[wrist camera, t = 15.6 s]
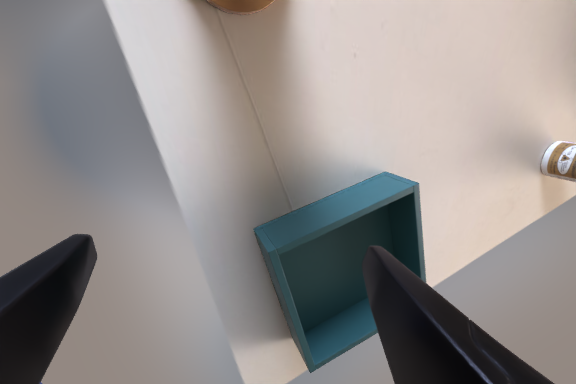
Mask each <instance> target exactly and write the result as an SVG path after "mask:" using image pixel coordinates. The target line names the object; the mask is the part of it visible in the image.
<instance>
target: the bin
mask: <svg viewBox="0 0 576 384" xmlns="http://www.w3.org/2000/svg"><path fill="white" fill-rule="evenodd" d="M253 230H254V232H255V235H256V238H257V241H258V244H259V246H260V249H261V252H262V255H263V257H264V260H265V263H266V266H267V268H268V271H269V274H270V277H271V280H272V282H273V285H274V288H275V291H276V293H277V296H278V299H279V302H280V304H281V307H282V310H283V313H284V316H285V318H286V321H287V324H288V327H289V329H290V332H291V335H292V338H293V340H294V342H295V344H296V346H297V348H298V350H299V352H300V354H301V356H302V358H303V360H304V362H305V364H306V366H307V368H308V370H309V372H310V373H311V372H313V371H315V370H316V369H318V368H320V367H321V366H323V365H324V364H326V363H328V362H330V361H331V360H333V359H335V358H336V357H338V356H340V355H341V354H343V353H345V352H346V351H348V350H350V349H351V348H353V347H355V346H356V345H358V344H360V343H361V342H363V341H365V340H366V339H368V338H369V337H371V336H373V335H375V334H376V333H378V330H377V327H376V324H375V321H374V318H373V315H372V311H371V308H370V304H369V300H368V295H367V290H366V285H365V280H364V276H363V271H362V261H363V258H364V256H365V253H366V251H367V249H368V247H369V246H381V247H383V248H384V249H385V250H386V251H388V252H389V253H390V254H391V255H392V256H394V257H395V258H396V259H397V260H398V261H400V262H401V263H402V264H403V265H405V266H406V267H407V268H408V269H409V270H411V271H412V272H413V273H414V274H415V275H417V276H418V277H419V278H420V279H422V280H423V281H424V282H425V283H426V274H425V260H424V246H423V232H422V219H421V205H420V191H419V183H417V182H414V181H411V180H409V179H406V178H403V177H400V176H397V175H394V174H391V173H389V172H383V173H381V174H379V175H376V176H374V177H372V178H369V179H367V180H365V181H362V182H360V183H358V184H356V185H353V186H351V187H349V188H346V189H344V190H342V191H339V192H337V193H335V194H332V195H330V196H328V197H325V198H323V199H321V200H318V201H316V202H314V203H311V204H309V205H307V206H305V207H302V208H300V209H298V210H295V211H293V212H291V213H288V214H286V215H284V216H281V217H279V218H277V219H274V220H272V221H270V222H267V223H265V224H263V225H260V226H258V227H256V228H254V229H253Z"/></svg>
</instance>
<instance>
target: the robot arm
mask: <svg viewBox="0 0 576 384" xmlns="http://www.w3.org/2000/svg"><path fill="white" fill-rule="evenodd" d="M96 260H97V252H96V249H95V245H94V242H93V239H92V237H91V236H90V235H88V234H75V235H72V236H70V237H69V238H67V239H65V240H63V241H62V242H60V243H58V244H56V245H55V246H53V247H51V248H50V249H48V250H46V251H45V252H43V253H41V254H39V255H38V256H36V257H34V258H32V259H31V260H29V261H27V262H25V263H24V264H22V265H20V266H18V267H17V268H15V269H14V270H12V271H10V272H9V273H6V274H5V275H3V276H1V277H0V384H40V382H41V380H42V378H43V376H44V374H45V372H46V370H47V368H48V366H49V364H50V362H51V360H52V359H53V357H54V355H55V353H56V351H57V349H58V347H59V345H60V343H61V341H62V339H63V337H64V335H65V333H66V331H67V329H68V328H69V326H70V324H71V322H72V320H73V318H74V316H75V313H76V312H77V309H78V307H79V305H80V303H81V300H82V298H83V295H84V292H85V290H86V287H87V284H88V282H89V279H90V276H91V274H92V271H93V269H94V266H95V263H96ZM362 271H363V276H364V280H365V285H366V290H367V295H368V300H369V304H370V308H371V311H372V315H373V318H374V321H375V324H376V327H377V330H378V333H379V336H380V339H381V342H382V345H383V349H384V352H385V355H386V358H387V361H388V364H389V367H390V370H391V373H392V376H393V379H394V382H395V384H554V383H553V382H551V381H550V380H549V379H547V378H546V377H545V376H543V375H542V374H540V373H539V372H538V371H536V370H535V369H534V368H532V367H531V366H529V365H528V364H527V363H525V362H524V361H523V360H521V359H520V358H519V357H517V356H516V355H515V354H513V353H512V352H511V351H509V350H508V349H507V348H505V347H504V346H503V345H501V344H500V343H499V342H497V341H496V340H495V339H494V338H492V337H491V336H490V335H489V334H487V333H486V332H485V331H484V330H482V329H481V328H480V327H479V326H478V325H476V324H475V323H474V322H472V321H471V320H469V319H468V317H466V316H465V315H464V314H463V313H462V312H460V311H459V310H458V309H457V308H455V307H454V306H453V305H452V304H451V303H449V302H448V301H447V300H446V299H445V298H443V297H442V296H441V295H440V294H438V293H437V292H436V291H435V290H433V289H432V288H431V287H430V286H429V285H428V284H426V283H425V282H424V281H423V280H422V279H420V278H419V277H418V276H417V275H415V274H414V273H413V272H412V271H411V270H409V269H408V268H407V267H406V266H405V265H403V264H402V263H401V262H400V261H398V260H397V259H396V258H395V257H394V256H392V255H391V254H390V253H389V252H388V251H386V250H385V249H384V248H383V247H381V246H369V247H368V249H367V251H366V253H365V256H364V258H363V261H362Z"/></svg>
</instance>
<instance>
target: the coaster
mask: <svg viewBox="0 0 576 384" xmlns="http://www.w3.org/2000/svg"><path fill="white" fill-rule="evenodd" d="M206 1H207V2H209V3H210V4H212V5H213V6H215V7H216V8H219V9H221V10H223V11H225V12H229V13H232V14H240V15H246V14H253V13H256V12H259V11H261V10H263V9H265V8H266V7H268V6H269V5H270V4H271V3H272V2H273V1H275V0H206Z"/></svg>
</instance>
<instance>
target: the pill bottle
mask: <svg viewBox="0 0 576 384" xmlns="http://www.w3.org/2000/svg"><path fill="white" fill-rule="evenodd" d="M541 170H542V173H543V174H545V175H546V176H550V177H555V178H560V179H564V180H569V181H574V182H576V143H575V142H566V141H558V142H555V143H553V144H552V145H551V146H550V147H549V148H548V149H547V150H546V152H545V154H544V156H543V159H542V163H541Z"/></svg>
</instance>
